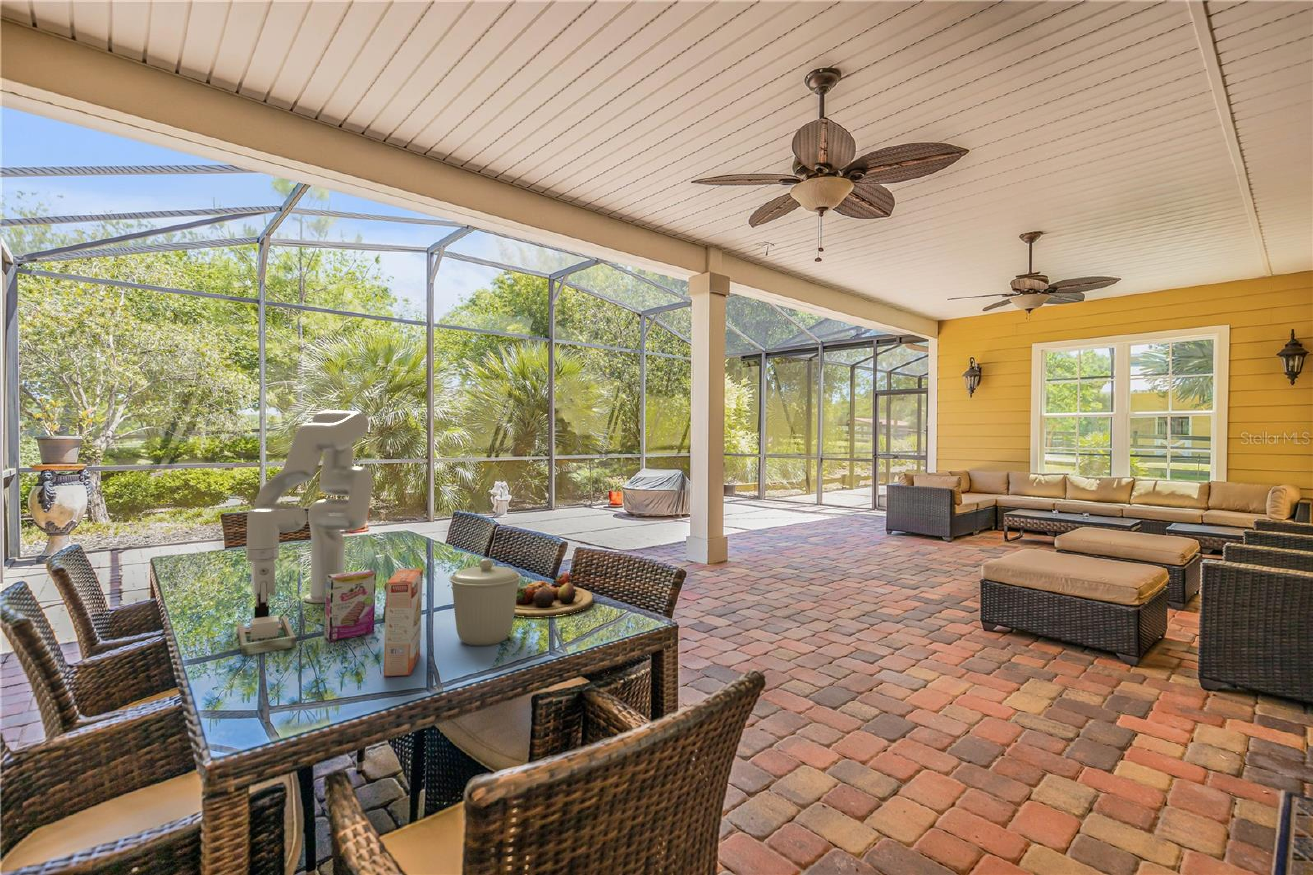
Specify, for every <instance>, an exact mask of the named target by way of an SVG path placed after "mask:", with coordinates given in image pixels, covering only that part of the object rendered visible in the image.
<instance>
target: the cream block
mask: <svg viewBox="0 0 1313 875" xmlns="http://www.w3.org/2000/svg"><path fill="white" fill-rule="evenodd" d="M279 622H280V620H279V615H271V616H270V615H269V617H261V618H254V617H253V618H251V619H250V628H251V632H250V640H251V639H253V640H257V639H258V638H260V639H267V638H274V637H279V628H278V627H279V624H280V623H279ZM266 637H267V638H266ZM258 640H259V639H258Z"/></svg>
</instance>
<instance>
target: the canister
mask: <svg viewBox="0 0 1313 875" xmlns="http://www.w3.org/2000/svg"><path fill="white" fill-rule="evenodd" d="M521 578H522V574H521V573H520V572H518V571H517V570H515V569H513V568H510V567H508V566H507V567H506V566H497V565H494V561H493V560H492V559H491V558H482V559H481V560H480V561H479V562H478V566H472V567H467V568H463V569H461V570H458V571H457V572H455V573H454V574H452V575H451V576H450V577H449V582H450V583H451V586H452V588H451V590H452V598H453V599H452V600H453V610H454V618H455V626H456V627H455V628H456V632H457V637H458V639H460V641H461V642H463V643H464V644H467V645H471V646H490V645H495V644H499V643H501V642H504V641H505V640H506V639H508V638H509V637H510V635H511V633H512V631H513V624H514V618H515V617H514V613H515V606H516V598H517V591H518V588H519V581H520V580H521Z"/></svg>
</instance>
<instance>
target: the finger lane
mask: <svg viewBox="0 0 1313 875" xmlns="http://www.w3.org/2000/svg"><path fill="white" fill-rule="evenodd" d="M280 622H281V623H279V627H278V629H281V628H283V630H284V633H285V637H278V638H272V639H267V640H266V639H265V640H259V641H258V640H257V641H253V642H247V637H246V633H245V632H248V633H251V629H245V628H244V624H243V621H240V622H239V621H238V622H237V634H238V639H239V640H238V641H239V645H240V650H242V651H241V655H243V656H248V655H255V654H261V653H267V652H274V651H280V650H286V649H291V648H296V647H297V636H296V635H295V632H294V631H293V628H292V627H291V625H290V622H289V620H288V617H287V616H286V615H282V616H281V621H280Z"/></svg>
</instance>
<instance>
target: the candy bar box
mask: <svg viewBox="0 0 1313 875" xmlns="http://www.w3.org/2000/svg"><path fill="white" fill-rule="evenodd" d="M376 580H377V572H376V571H374V570H371V569H363V570H357V571H356V570H355V571H348V572H346V571H345V572H344V573H338V574H330V575H326V599H325V603H324V606H325V607H324V632H323V633H324V636H323V637H324V638H325V639H326V640H327V641H328V642H331V643H332V642H335V641H340V640H346V639H351V638H355V637H356V638H357V637H359V636H360V637H362V636H366V635H371V634H374V633H375V616H376V614H375V613H376V612H375V610H376V582H377V581H376Z"/></svg>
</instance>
